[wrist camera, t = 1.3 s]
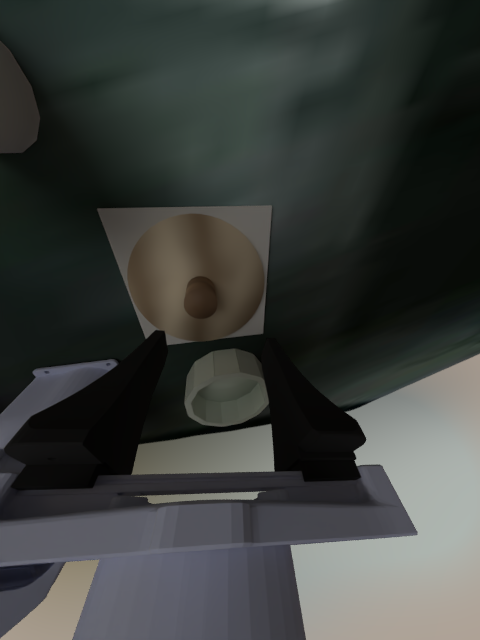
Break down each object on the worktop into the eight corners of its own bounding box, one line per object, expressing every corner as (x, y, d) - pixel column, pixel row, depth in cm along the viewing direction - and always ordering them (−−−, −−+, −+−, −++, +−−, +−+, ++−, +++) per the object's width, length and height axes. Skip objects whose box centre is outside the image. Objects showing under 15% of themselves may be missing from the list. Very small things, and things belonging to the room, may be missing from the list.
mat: (150, 344, 23) (149, 346, 23) (99, 208, 15) (96, 208, 15) (261, 331, 25) (262, 333, 25) (270, 205, 17) (272, 205, 17)
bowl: (194, 405, 32) (193, 431, 28) (181, 355, 25) (177, 381, 21) (260, 394, 33) (267, 418, 30) (264, 344, 27) (274, 367, 23)
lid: (152, 343, 23) (142, 369, 19) (105, 215, 15) (75, 218, 12) (259, 330, 25) (269, 352, 21) (266, 211, 17) (283, 213, 13)
